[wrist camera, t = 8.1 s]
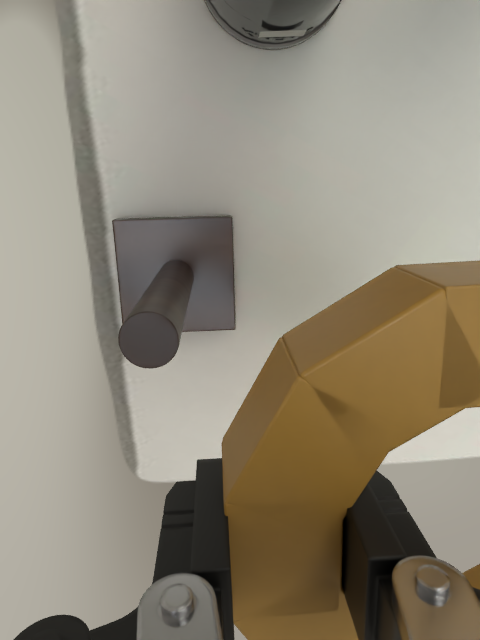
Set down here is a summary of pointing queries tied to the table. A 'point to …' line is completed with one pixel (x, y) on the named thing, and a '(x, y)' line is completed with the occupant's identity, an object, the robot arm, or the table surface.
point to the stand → (172, 282)
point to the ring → (339, 437)
